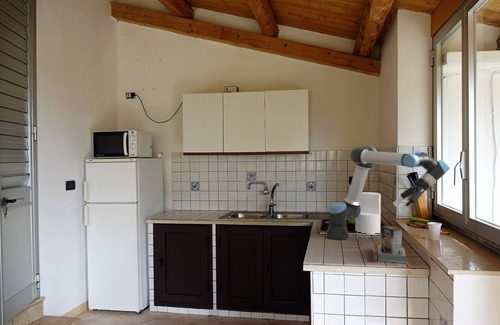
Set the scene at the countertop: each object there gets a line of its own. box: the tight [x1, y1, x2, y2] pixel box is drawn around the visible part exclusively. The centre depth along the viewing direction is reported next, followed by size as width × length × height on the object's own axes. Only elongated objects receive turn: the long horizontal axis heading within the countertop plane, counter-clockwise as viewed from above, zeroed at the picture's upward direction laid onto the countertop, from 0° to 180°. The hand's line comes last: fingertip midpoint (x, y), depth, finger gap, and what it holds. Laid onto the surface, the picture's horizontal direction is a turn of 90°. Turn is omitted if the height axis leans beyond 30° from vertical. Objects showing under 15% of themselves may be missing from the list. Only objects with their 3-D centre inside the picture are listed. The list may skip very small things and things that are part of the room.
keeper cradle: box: [377, 244, 407, 264], centre depth 198 cm, size 14×17×4 cm
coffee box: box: [381, 225, 403, 255], centre depth 197 cm, size 9×6×16 cm
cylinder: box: [355, 191, 382, 235], centre depth 257 cm, size 17×17×28 cm
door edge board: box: [372, 239, 379, 263], centre depth 201 cm, size 2×24×6 cm, turn 159°
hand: (397, 207), depth 205 cm, fingers open, 13 cm apart
